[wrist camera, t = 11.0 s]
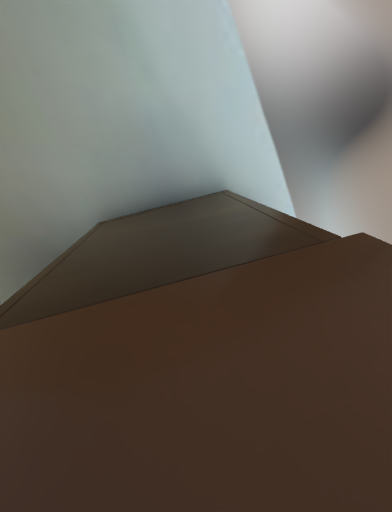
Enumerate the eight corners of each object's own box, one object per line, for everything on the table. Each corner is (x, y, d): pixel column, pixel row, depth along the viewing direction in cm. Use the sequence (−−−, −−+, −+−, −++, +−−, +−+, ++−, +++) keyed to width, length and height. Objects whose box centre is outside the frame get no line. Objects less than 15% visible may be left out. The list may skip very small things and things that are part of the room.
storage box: (235, 279, 22) (294, 378, 12) (145, 304, 22) (126, 428, 12) (227, 189, 16) (343, 236, 5) (98, 222, 15) (-44, 341, 5)
